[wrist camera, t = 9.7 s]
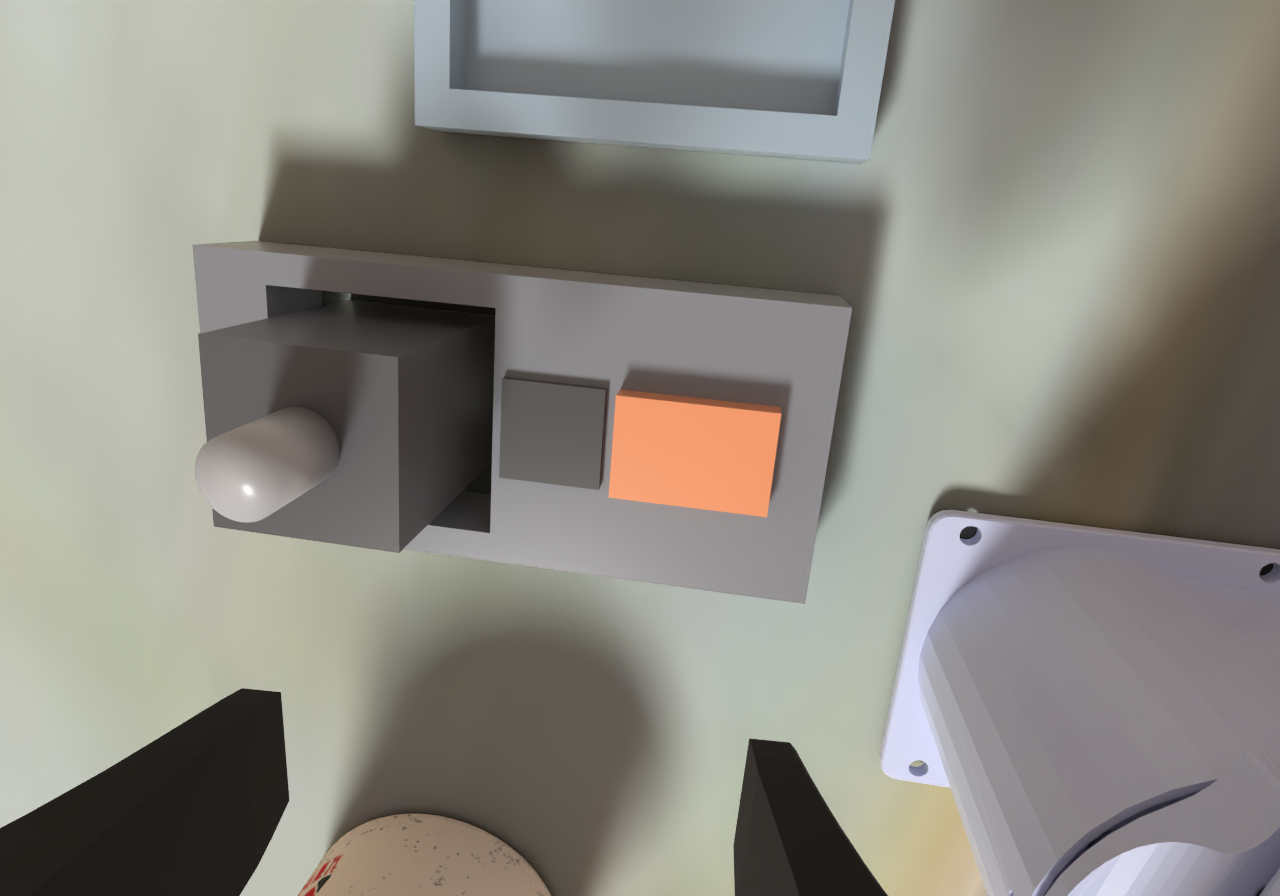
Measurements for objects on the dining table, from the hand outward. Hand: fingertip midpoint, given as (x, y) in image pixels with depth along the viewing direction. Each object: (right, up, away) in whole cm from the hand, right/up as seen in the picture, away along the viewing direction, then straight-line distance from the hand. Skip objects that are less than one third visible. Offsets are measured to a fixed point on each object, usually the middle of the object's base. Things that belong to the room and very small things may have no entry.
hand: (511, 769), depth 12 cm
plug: (-4, +7, +9) cm, 12 cm away
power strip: (-1, +6, +9) cm, 11 cm away
